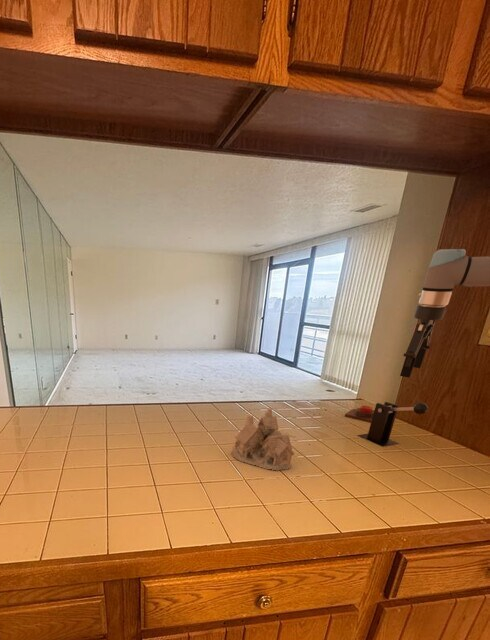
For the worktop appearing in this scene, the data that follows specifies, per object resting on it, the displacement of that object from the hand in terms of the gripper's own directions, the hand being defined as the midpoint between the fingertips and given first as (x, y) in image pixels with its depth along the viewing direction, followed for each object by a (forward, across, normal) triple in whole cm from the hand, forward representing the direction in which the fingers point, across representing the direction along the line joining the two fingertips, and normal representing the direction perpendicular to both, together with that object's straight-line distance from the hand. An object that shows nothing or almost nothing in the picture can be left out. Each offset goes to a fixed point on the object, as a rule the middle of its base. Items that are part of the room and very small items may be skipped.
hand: (410, 371), depth 117 cm
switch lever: (+10, +14, +4) cm, 18 cm away
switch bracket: (+22, +13, -1) cm, 26 cm away
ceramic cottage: (+19, +55, -22) cm, 62 cm away
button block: (+25, -8, -12) cm, 29 cm away
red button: (+21, -9, -12) cm, 26 cm away
